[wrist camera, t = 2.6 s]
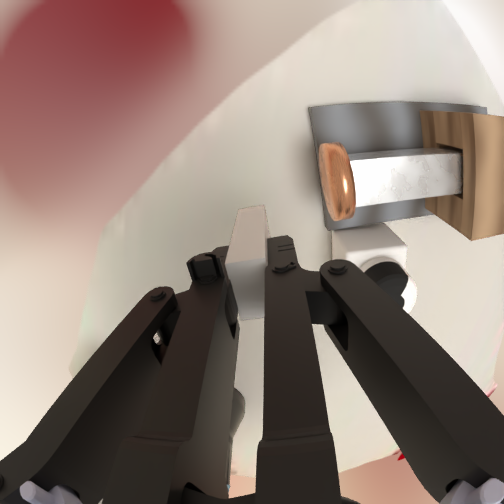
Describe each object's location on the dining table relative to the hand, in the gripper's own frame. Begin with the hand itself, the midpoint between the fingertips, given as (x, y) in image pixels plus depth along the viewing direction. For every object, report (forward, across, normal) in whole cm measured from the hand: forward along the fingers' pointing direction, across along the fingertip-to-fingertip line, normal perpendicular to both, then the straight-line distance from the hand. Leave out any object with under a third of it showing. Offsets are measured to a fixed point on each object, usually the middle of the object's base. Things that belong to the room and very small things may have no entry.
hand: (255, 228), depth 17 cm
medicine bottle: (+17, -11, +11) cm, 23 cm away
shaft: (+13, -15, 0) cm, 20 cm away
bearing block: (+16, -19, 0) cm, 25 cm away
